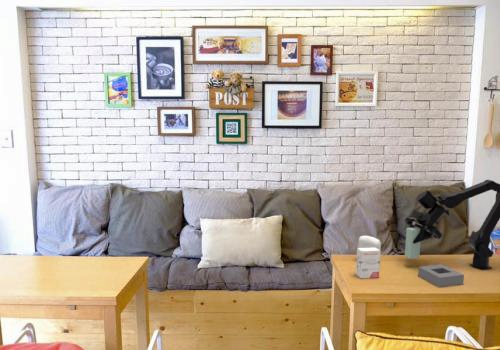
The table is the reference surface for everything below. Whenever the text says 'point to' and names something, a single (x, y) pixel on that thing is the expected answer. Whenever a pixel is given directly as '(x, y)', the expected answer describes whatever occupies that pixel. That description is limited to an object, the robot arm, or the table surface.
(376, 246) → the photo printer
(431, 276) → the grey square socket block
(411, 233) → the pale green block
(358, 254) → the ink box
